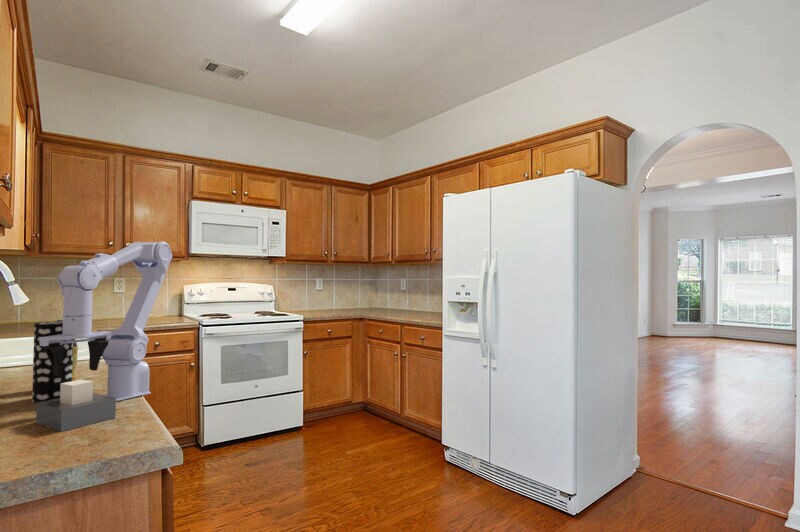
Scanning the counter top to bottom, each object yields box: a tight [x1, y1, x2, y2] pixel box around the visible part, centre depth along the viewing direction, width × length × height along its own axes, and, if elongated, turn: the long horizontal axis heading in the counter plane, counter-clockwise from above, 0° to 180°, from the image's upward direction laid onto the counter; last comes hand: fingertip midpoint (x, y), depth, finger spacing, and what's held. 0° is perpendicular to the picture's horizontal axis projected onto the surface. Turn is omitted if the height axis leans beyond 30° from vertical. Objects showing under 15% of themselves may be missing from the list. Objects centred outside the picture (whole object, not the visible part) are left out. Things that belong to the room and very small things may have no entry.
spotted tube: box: [31, 320, 73, 404], centre depth 122 cm, size 8×8×20 cm
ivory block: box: [60, 379, 94, 406], centre depth 104 cm, size 4×4×8 cm
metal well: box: [35, 392, 117, 433], centre depth 104 cm, size 11×11×4 cm
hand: (76, 372), depth 110 cm, fingers open, 7 cm apart
